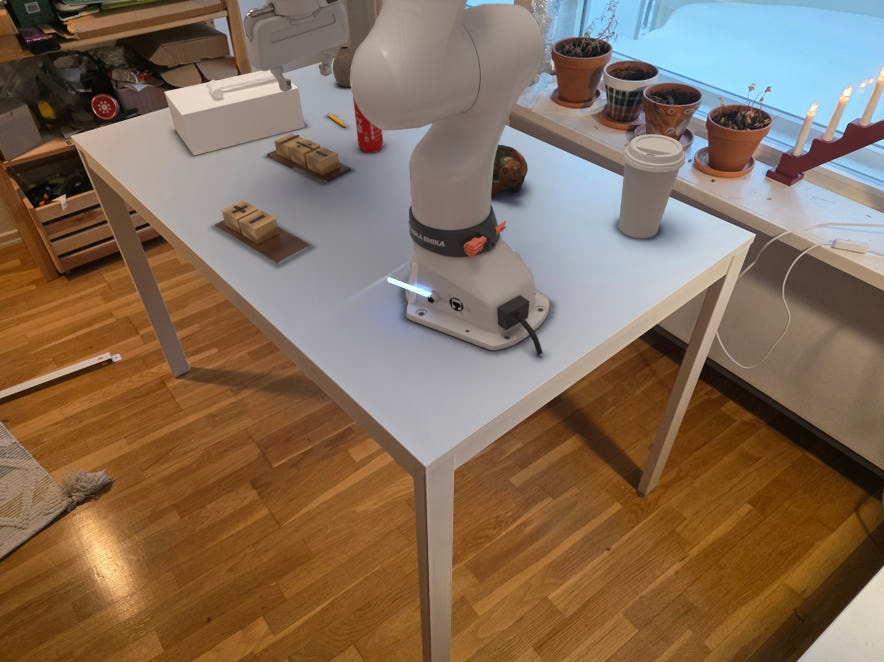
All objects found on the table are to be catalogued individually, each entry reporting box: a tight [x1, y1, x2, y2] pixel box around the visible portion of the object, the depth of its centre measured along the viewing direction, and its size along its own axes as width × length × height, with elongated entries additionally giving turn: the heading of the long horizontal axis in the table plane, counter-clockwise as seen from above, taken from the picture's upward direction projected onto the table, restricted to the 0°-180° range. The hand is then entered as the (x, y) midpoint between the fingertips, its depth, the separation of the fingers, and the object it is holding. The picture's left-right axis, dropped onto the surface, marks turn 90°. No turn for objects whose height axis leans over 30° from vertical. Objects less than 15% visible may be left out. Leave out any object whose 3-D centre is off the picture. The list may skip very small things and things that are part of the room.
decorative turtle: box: [491, 144, 529, 199], centre depth 120 cm, size 10×15×8 cm, turn 22°
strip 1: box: [214, 199, 311, 264], centre depth 111 cm, size 18×7×4 cm, turn 48°
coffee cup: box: [618, 133, 686, 239], centre depth 106 cm, size 10×10×15 cm
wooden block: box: [289, 138, 322, 167], centre depth 130 cm, size 5×4×3 cm
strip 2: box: [266, 132, 351, 182], centre depth 131 cm, size 18×7×4 cm, turn 48°
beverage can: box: [352, 96, 384, 154], centre depth 132 cm, size 5×5×12 cm
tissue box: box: [163, 70, 306, 156], centre depth 141 cm, size 14×25×11 cm, turn 121°
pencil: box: [326, 112, 347, 128], centre depth 145 cm, size 1×9×1 cm, turn 34°
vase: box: [332, 45, 355, 88], centre depth 159 cm, size 7×7×9 cm
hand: (306, 82), depth 118 cm, fingers open, 8 cm apart
